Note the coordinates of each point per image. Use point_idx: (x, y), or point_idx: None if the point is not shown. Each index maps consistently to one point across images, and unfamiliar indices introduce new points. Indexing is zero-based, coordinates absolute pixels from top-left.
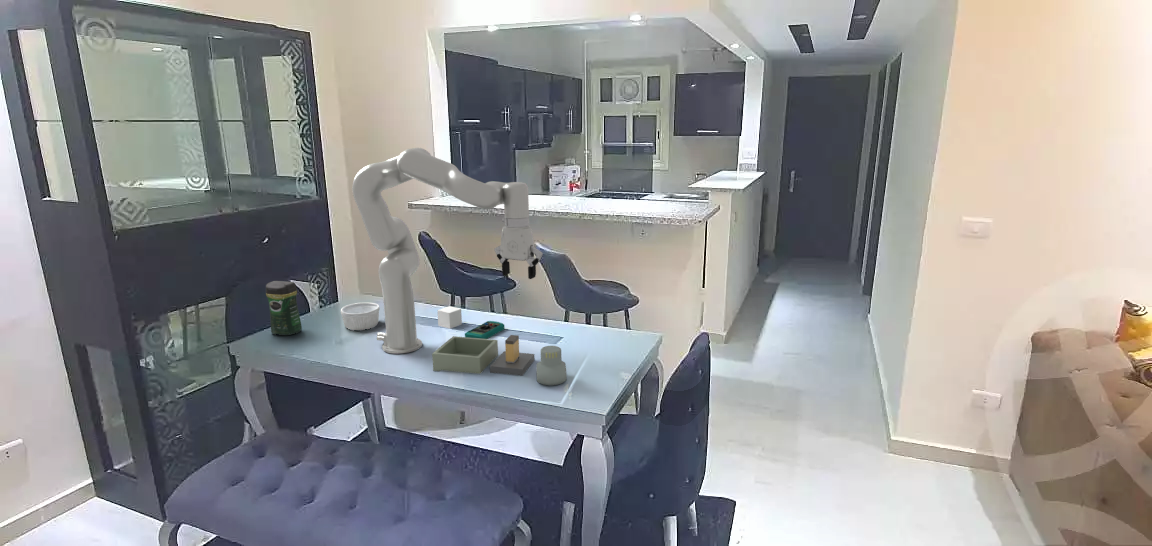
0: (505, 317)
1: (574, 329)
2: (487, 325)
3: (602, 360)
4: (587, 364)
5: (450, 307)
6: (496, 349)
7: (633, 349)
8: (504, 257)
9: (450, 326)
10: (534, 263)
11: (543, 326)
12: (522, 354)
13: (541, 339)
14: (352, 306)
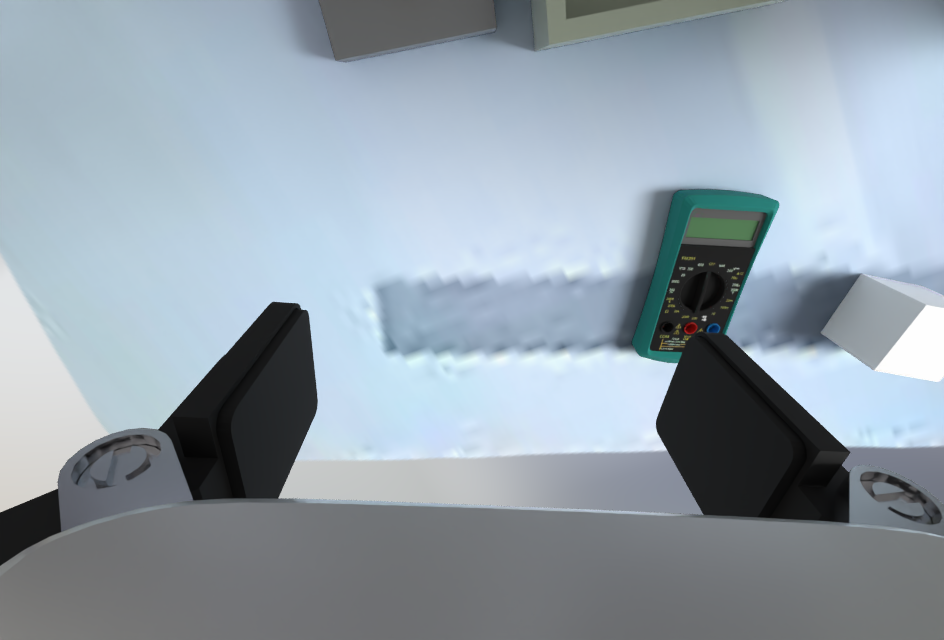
0: None
1: (389, 423)
2: (703, 317)
3: (110, 198)
4: (127, 131)
5: (930, 369)
6: (539, 25)
7: (98, 339)
8: (931, 541)
9: (866, 280)
10: (36, 512)
11: (503, 412)
12: (385, 25)
13: (449, 305)
14: None
